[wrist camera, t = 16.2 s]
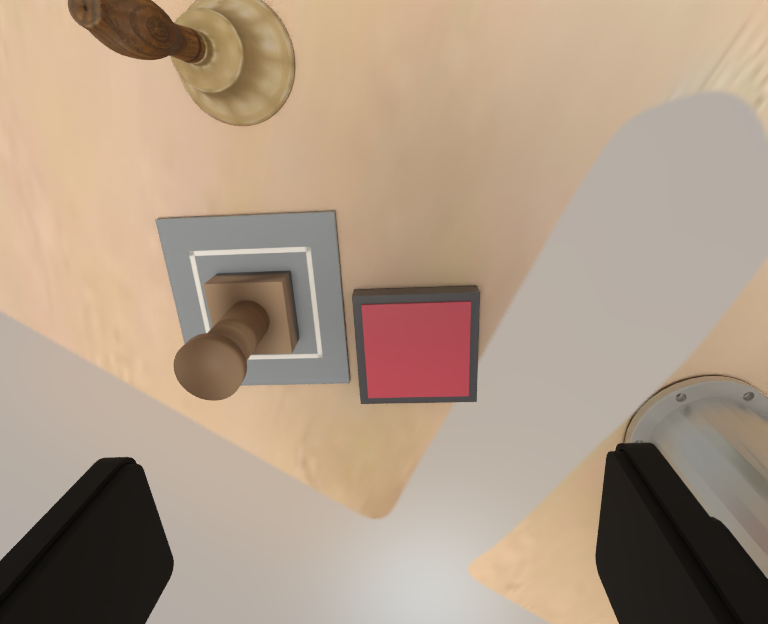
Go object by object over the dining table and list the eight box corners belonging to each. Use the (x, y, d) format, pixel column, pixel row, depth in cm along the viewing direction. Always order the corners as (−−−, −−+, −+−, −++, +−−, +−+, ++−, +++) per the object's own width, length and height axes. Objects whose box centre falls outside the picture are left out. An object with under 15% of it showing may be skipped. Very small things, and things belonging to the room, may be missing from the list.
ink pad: (477, 285, 37) (480, 293, 36) (473, 391, 41) (476, 402, 39) (354, 289, 38) (351, 297, 36) (362, 393, 42) (360, 405, 40)
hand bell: (216, 145, 34) (72, 160, 19) (153, 26, 31) (-72, -62, 17) (315, 95, 33) (241, 71, 18) (258, -34, 30) (114, -190, 15)
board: (335, 210, 35) (334, 211, 35) (350, 379, 41) (349, 383, 40) (159, 218, 36) (155, 219, 36) (197, 383, 42) (194, 386, 41)
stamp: (290, 270, 37) (248, 325, 27) (299, 338, 39) (263, 411, 29) (217, 273, 37) (148, 327, 27) (230, 340, 39) (171, 413, 29)
